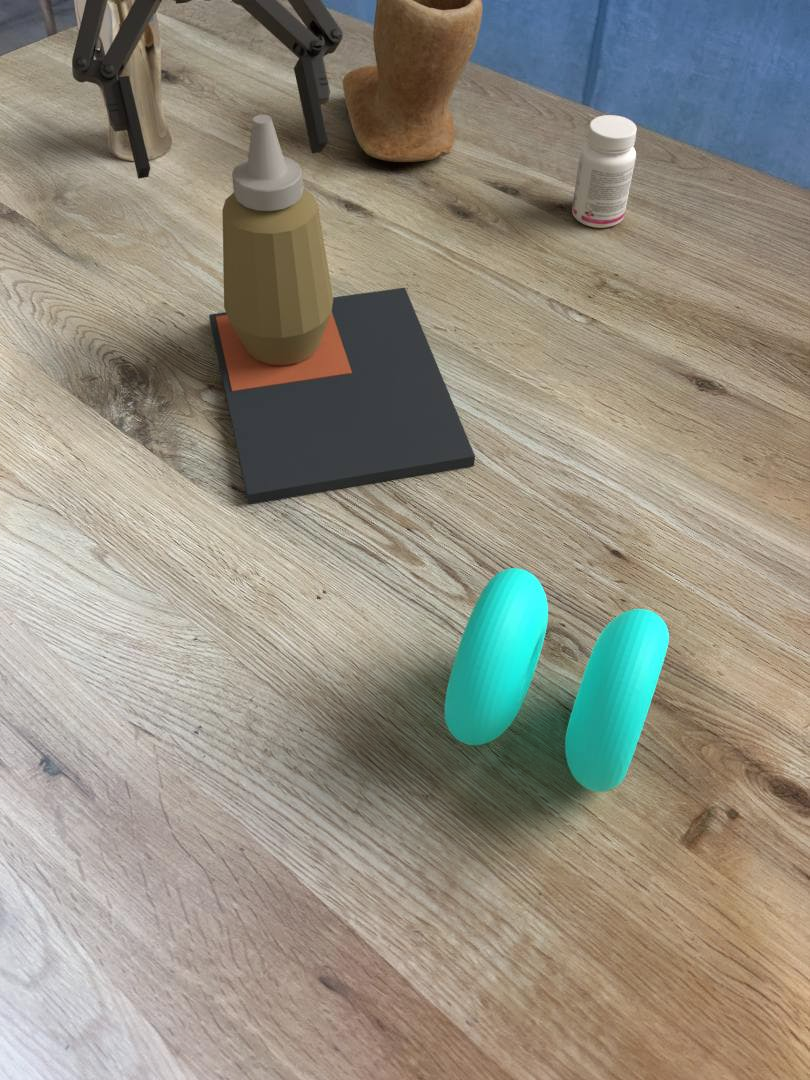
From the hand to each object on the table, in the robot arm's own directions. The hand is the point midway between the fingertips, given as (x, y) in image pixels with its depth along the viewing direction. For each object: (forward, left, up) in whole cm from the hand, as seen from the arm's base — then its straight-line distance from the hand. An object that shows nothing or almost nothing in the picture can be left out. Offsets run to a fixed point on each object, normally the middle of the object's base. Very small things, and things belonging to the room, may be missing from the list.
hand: (234, 161), depth 80 cm
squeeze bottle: (+10, +1, -10) cm, 14 cm away
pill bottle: (-3, +32, -11) cm, 34 cm away
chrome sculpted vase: (-24, -7, -11) cm, 27 cm away
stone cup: (-21, +19, -11) cm, 30 cm away
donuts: (+46, +10, -11) cm, 49 cm away
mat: (+15, +4, -11) cm, 19 cm away
